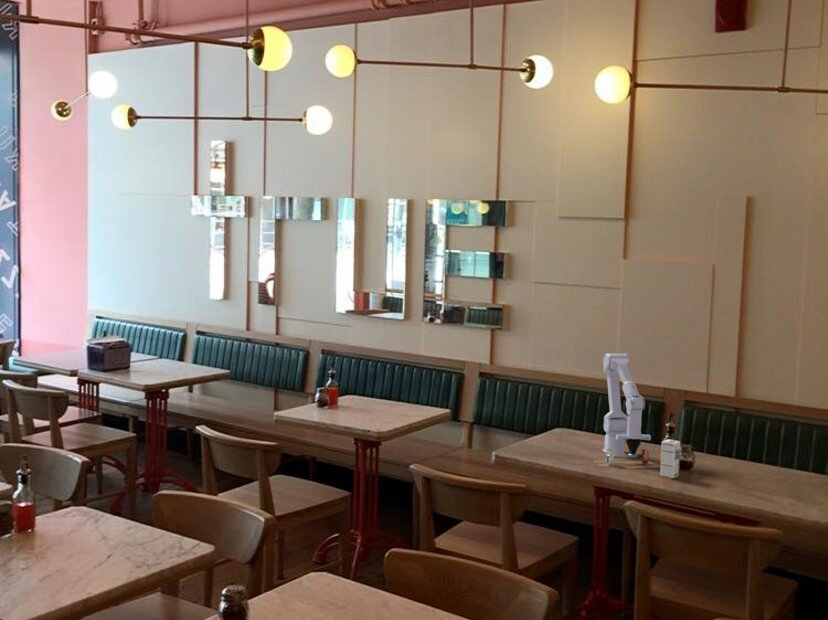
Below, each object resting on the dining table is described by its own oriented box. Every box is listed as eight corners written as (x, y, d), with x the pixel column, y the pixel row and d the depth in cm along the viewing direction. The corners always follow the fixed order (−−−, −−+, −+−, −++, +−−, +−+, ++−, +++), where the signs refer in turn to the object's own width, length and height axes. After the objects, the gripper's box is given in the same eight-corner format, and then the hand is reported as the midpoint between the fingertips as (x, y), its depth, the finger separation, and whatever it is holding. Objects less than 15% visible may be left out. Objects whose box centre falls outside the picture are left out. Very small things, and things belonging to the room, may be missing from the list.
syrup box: (673, 479, 377) (675, 443, 376) (659, 476, 381) (661, 441, 379) (678, 476, 382) (681, 441, 380) (664, 473, 385) (667, 438, 384)
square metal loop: (603, 462, 398) (604, 448, 398) (610, 462, 399) (611, 448, 398) (608, 465, 392) (609, 452, 392) (615, 465, 393) (616, 452, 392)
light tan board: (592, 461, 401) (592, 460, 401) (648, 461, 404) (648, 460, 404) (601, 469, 389) (601, 467, 389) (659, 468, 392) (659, 467, 392)
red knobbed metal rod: (608, 465, 392) (609, 451, 392) (603, 461, 398) (604, 447, 398) (649, 465, 395) (650, 451, 394) (644, 461, 401) (644, 447, 400)
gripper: (620, 427, 393) (618, 459, 394) (654, 427, 395) (652, 459, 396) (615, 423, 400) (613, 454, 401) (647, 423, 402) (646, 454, 403)
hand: (632, 456), depth 399 cm, fingers closed
